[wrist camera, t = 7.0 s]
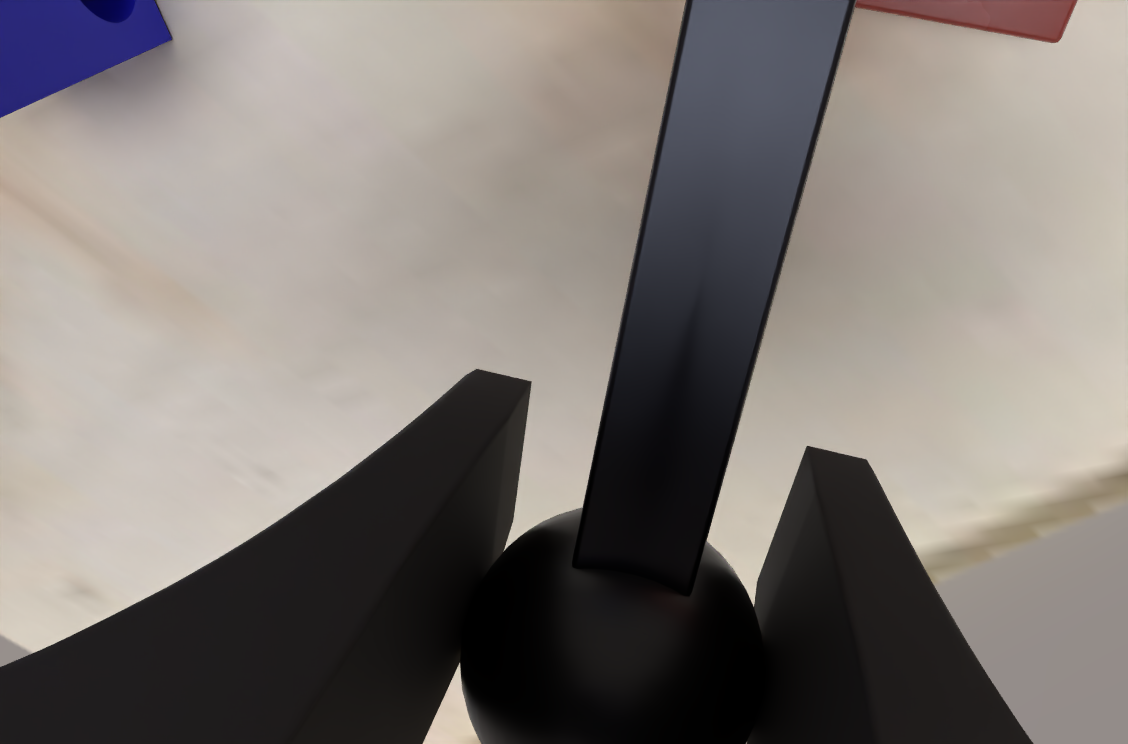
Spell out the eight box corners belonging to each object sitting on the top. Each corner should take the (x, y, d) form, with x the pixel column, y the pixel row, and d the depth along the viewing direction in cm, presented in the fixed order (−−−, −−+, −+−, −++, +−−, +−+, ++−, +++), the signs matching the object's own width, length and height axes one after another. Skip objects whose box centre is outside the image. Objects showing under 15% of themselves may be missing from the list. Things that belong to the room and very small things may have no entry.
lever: (728, 698, 11) (720, 936, 8) (486, 635, 11) (403, 845, 9) (1234, -891, 6) (1702, -1722, 3) (739, -934, 6) (729, -1705, 3)
